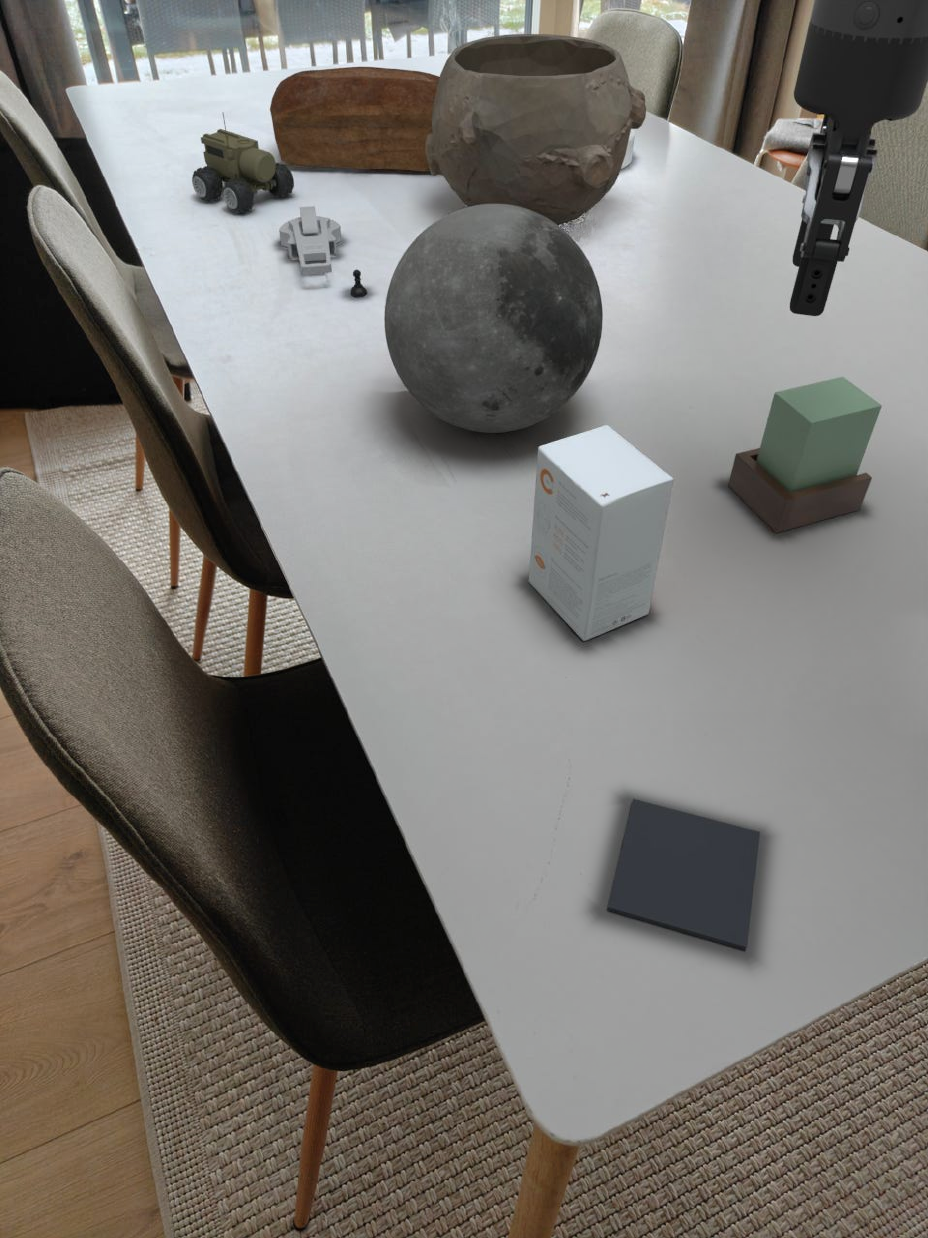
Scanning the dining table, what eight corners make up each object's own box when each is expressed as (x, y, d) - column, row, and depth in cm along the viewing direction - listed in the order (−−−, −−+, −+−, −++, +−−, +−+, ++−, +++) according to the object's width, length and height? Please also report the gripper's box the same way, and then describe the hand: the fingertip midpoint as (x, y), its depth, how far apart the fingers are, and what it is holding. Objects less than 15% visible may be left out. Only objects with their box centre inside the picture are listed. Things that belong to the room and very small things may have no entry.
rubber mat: (758, 835, 59) (759, 831, 58) (745, 950, 53) (746, 947, 53) (632, 802, 60) (633, 798, 60) (607, 910, 55) (607, 907, 55)
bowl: (390, 238, 124) (381, 68, 110) (478, 169, 142) (480, 16, 128) (583, 276, 116) (600, 98, 102) (650, 197, 134) (673, 37, 120)
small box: (650, 615, 73) (677, 478, 64) (582, 644, 70) (601, 506, 61) (590, 556, 78) (607, 421, 69) (525, 581, 75) (535, 445, 66)
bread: (456, 179, 139) (455, 88, 131) (270, 173, 141) (258, 83, 132) (463, 148, 149) (463, 61, 141) (289, 142, 151) (279, 56, 142)
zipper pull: (286, 293, 112) (281, 258, 109) (280, 233, 125) (275, 201, 122) (351, 288, 113) (348, 253, 110) (339, 229, 126) (336, 197, 123)
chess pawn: (346, 295, 112) (344, 270, 110) (355, 288, 113) (353, 264, 111) (361, 298, 111) (359, 274, 109) (369, 291, 113) (368, 267, 111)
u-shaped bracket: (808, 464, 87) (818, 432, 85) (860, 509, 82) (872, 477, 80) (727, 485, 85) (735, 453, 82) (776, 533, 80) (786, 500, 78)
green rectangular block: (812, 472, 86) (843, 375, 79) (846, 503, 83) (882, 405, 76) (748, 489, 84) (774, 391, 77) (781, 521, 81) (811, 422, 74)
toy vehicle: (248, 178, 139) (234, 89, 131) (299, 196, 134) (289, 105, 126) (192, 199, 133) (174, 107, 125) (243, 219, 128) (228, 124, 120)
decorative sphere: (581, 365, 100) (601, 170, 86) (601, 475, 86) (629, 262, 72) (395, 365, 100) (385, 169, 86) (384, 474, 86) (369, 261, 72)
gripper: (957, 48, 49) (864, 339, 60) (934, 1, 59) (858, 257, 70) (810, 37, 50) (745, 323, 61) (812, -6, 61) (756, 245, 71)
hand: (805, 288), depth 66 cm, fingers open, 8 cm apart
